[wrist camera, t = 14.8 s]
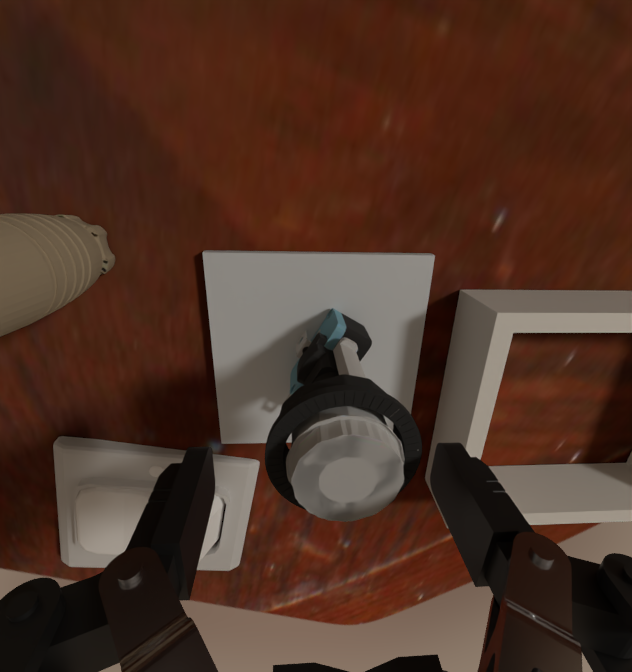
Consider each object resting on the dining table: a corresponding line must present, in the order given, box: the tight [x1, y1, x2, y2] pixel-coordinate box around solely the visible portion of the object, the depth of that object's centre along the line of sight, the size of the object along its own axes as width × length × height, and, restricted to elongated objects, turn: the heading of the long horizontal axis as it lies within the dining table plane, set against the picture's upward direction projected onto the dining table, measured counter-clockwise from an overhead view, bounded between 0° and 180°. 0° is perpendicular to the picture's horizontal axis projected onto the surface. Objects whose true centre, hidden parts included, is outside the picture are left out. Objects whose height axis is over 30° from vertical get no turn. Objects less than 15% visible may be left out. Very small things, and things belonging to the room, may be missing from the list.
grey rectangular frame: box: [425, 290, 632, 528], centre depth 21 cm, size 16×14×4 cm
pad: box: [202, 250, 435, 444], centre depth 21 cm, size 12×12×1 cm
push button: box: [265, 308, 422, 522], centre depth 16 cm, size 7×5×10 cm
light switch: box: [53, 436, 260, 571], centre depth 24 cm, size 11×4×13 cm
